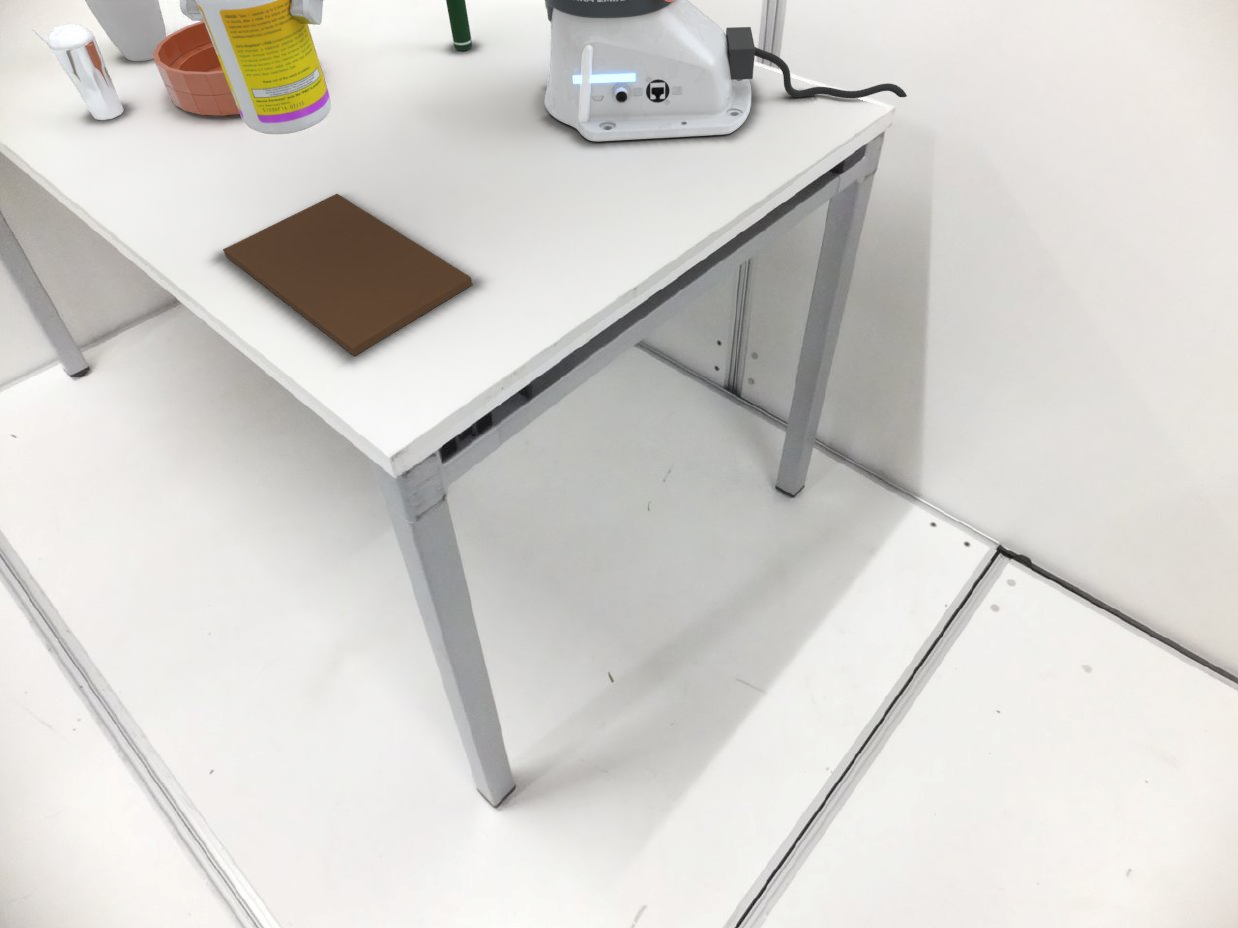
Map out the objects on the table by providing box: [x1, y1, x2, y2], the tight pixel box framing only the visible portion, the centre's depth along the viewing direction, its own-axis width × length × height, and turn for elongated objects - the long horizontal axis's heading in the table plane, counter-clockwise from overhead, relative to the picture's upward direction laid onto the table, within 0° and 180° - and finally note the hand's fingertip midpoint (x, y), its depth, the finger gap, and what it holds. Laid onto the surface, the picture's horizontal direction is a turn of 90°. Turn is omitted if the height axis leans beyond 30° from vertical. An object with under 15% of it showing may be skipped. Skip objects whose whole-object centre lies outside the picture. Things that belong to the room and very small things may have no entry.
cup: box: [84, 0, 167, 62], centre depth 99 cm, size 8×8×10 cm
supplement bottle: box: [196, 0, 332, 135], centre depth 58 cm, size 7×7×13 cm
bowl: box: [153, 21, 240, 116], centre depth 94 cm, size 16×16×5 cm
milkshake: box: [31, 23, 125, 121], centre depth 89 cm, size 4×5×10 cm
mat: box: [222, 193, 473, 357], centre depth 71 cm, size 20×12×1 cm, turn 46°
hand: (251, 19), depth 57 cm, fingers closed on supplement bottle, 6 cm apart
